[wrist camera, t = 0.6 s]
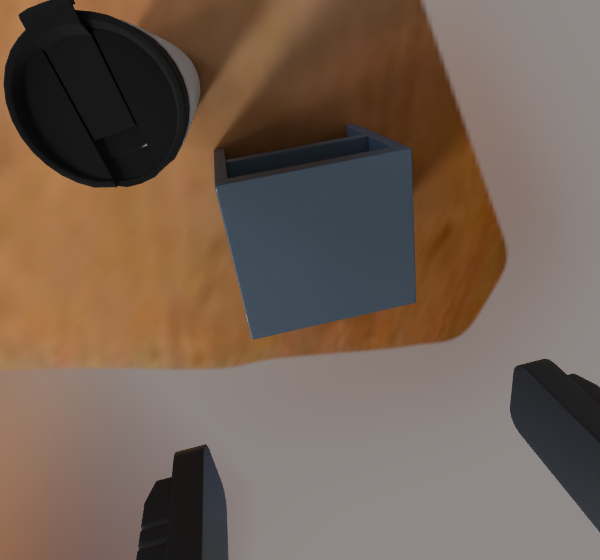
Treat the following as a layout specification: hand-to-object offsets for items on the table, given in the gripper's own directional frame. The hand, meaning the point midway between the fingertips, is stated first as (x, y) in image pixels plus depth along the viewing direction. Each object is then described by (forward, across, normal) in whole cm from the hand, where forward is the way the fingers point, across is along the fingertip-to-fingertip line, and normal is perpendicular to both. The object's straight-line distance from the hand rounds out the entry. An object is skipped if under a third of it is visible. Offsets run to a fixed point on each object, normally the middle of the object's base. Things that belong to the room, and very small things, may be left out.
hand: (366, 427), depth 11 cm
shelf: (+30, -3, +4) cm, 30 cm away
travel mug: (+30, +6, -7) cm, 32 cm away
